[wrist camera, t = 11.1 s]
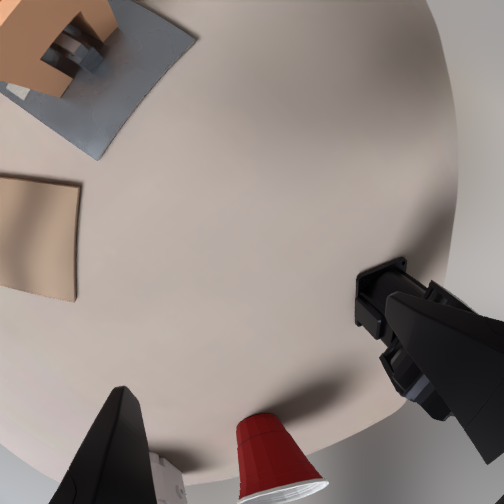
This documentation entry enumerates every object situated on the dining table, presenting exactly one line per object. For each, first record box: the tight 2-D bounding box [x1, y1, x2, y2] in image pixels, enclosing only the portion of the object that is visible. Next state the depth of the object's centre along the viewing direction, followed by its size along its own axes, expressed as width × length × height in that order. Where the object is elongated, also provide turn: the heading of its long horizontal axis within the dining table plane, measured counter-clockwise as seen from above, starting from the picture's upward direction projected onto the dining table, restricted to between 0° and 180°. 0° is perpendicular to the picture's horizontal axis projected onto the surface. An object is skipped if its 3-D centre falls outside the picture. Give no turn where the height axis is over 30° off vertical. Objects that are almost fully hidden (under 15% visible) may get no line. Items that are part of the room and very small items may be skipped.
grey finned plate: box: [0, 0, 195, 161], centre depth 9 cm, size 16×10×5 cm, turn 49°
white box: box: [149, 452, 187, 504], centre depth 27 cm, size 14×5×10 cm, turn 22°
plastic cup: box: [236, 414, 329, 504], centre depth 27 cm, size 11×11×12 cm
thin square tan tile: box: [0, 177, 81, 303], centre depth 16 cm, size 9×9×1 cm
